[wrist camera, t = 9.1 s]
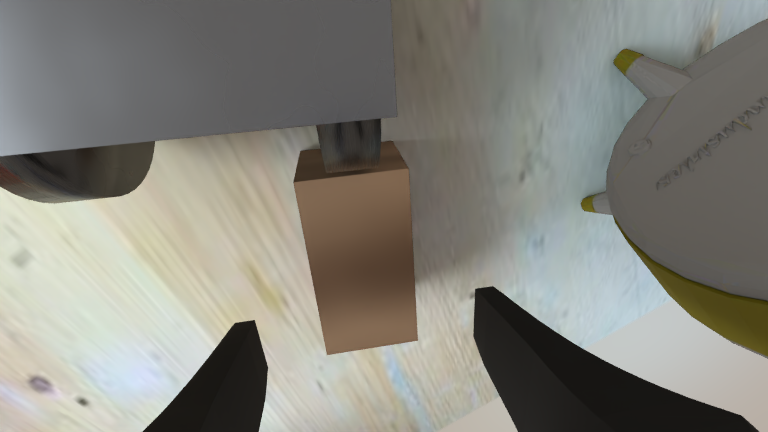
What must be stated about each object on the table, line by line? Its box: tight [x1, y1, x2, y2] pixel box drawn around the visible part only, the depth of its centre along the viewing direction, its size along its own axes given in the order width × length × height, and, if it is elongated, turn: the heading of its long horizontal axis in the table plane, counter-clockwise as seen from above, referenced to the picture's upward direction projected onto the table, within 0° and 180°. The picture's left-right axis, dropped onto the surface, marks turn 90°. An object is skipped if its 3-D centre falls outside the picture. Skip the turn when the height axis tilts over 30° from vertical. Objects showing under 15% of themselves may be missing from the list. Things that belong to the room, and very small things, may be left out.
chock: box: [293, 141, 418, 355], centre depth 17 cm, size 8×4×4 cm, turn 5°
